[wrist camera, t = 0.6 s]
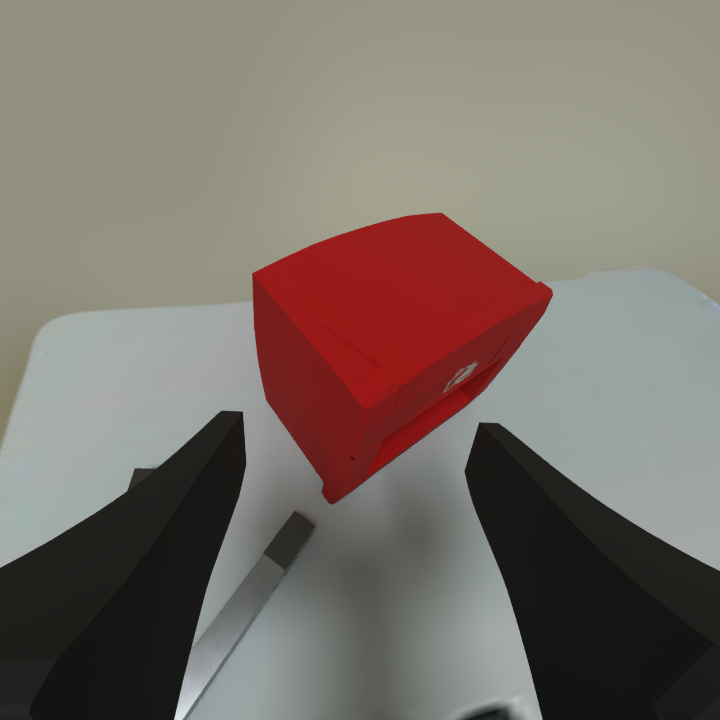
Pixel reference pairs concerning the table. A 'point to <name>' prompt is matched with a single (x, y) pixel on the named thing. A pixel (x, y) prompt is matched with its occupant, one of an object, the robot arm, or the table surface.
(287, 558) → the tongs arm
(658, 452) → the table surface
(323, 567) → the table surface
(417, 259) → the red curved-top box
